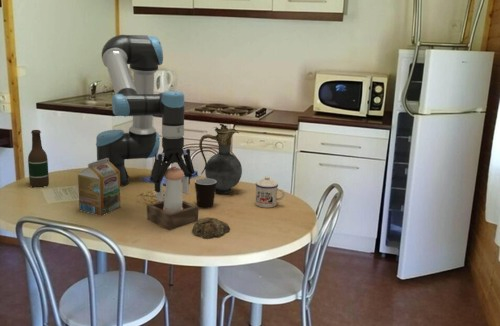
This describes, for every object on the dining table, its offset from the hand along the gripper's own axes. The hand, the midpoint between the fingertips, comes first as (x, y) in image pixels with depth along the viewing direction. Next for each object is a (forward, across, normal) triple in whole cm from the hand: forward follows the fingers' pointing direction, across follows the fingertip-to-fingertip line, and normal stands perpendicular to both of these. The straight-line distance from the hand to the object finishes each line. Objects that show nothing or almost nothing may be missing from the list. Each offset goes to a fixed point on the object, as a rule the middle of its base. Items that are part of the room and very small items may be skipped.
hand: (172, 196), depth 172 cm
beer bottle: (+9, -17, +69) cm, 72 cm away
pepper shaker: (+8, 0, 0) cm, 8 cm away
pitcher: (+9, +37, +14) cm, 41 cm away
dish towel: (+10, +33, +43) cm, 55 cm away
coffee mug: (+9, +21, +5) cm, 23 cm away
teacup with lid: (+9, +40, -12) cm, 43 cm away
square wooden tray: (+9, 0, 0) cm, 9 cm away
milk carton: (+9, -13, +27) cm, 31 cm away
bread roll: (+9, +3, -16) cm, 19 cm away
